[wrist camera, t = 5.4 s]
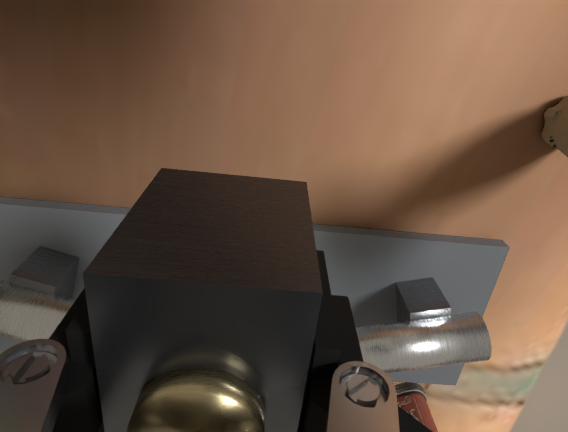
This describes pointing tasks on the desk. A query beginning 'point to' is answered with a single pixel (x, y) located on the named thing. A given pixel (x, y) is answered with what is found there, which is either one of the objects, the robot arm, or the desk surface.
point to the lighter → (415, 403)
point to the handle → (557, 126)
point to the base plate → (331, 239)
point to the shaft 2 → (424, 332)
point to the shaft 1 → (37, 294)
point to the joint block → (206, 306)
